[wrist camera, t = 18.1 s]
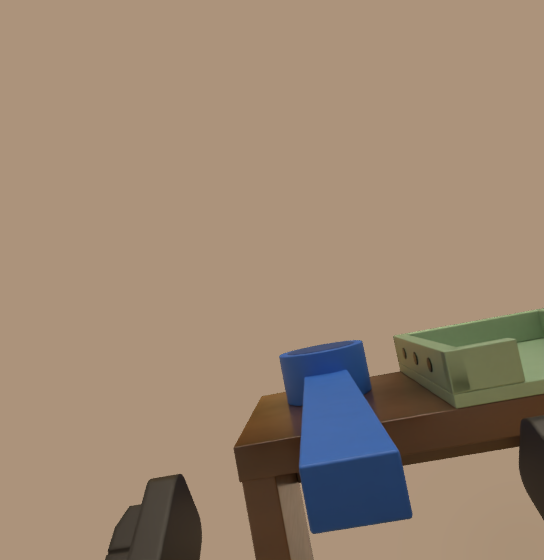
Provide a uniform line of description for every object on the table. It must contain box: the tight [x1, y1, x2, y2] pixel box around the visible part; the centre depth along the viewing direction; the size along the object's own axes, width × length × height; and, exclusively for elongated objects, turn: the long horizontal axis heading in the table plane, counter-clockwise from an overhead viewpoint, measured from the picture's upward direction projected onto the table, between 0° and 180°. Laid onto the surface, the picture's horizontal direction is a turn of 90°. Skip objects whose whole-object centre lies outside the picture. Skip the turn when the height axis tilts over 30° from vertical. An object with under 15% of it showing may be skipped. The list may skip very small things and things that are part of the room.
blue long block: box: [279, 340, 412, 534], centre depth 21 cm, size 20×5×3 cm, turn 176°
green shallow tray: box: [393, 308, 544, 409], centre depth 25 cm, size 12×10×2 cm
